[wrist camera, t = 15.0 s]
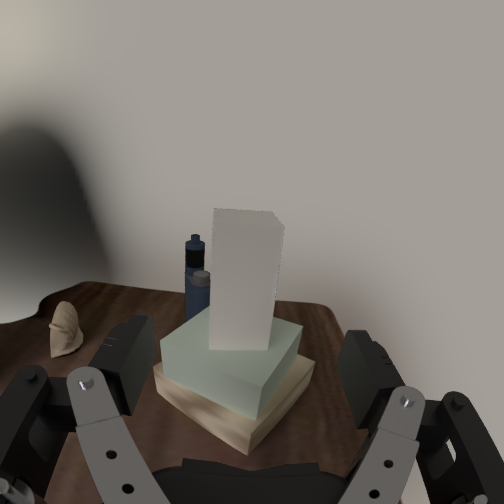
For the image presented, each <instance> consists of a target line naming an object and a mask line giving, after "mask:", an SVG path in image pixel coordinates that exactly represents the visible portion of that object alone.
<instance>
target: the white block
mask: <svg viewBox="0 0 504 504" xmlns="http://www.w3.org/2000/svg"><path fill="white" fill-rule="evenodd" d="M283 234H284V226H283V224H282V223H281V222H280V221H279V219H278V218H277V217H276V216H275V215H274V214H273V212H268V211H253V210H236V209H217V208H214V215H213V232H212V254H211V281H210V323H209V350H268V345H269V338H270V332H271V325H272V318H273V311H274V304H275V297H276V289H277V282H278V274H279V267H280V259H281V251H282V243H283Z"/></svg>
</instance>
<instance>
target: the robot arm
mask: <svg viewBox="0 0 504 504" xmlns="http://www.w3.org/2000/svg"><path fill="white" fill-rule="evenodd" d="M155 352H156V343H155V334H154V325H153V317H152V316H151V315H146V314H139V313H133V314H132V316H131V318H130V319H129V321H128V322H127V324H126V323H120V324H119V325H117V326H116V327H114V328H113V329H112V330H111V331H110V333H109V334H108V336H107V338H106V339H105V340H104V342H103V345H101V346H100V348H99V349H98V351H97V352H96V354H95V355H94V357H93V358H92V360H91V362H90V363H89V365H88V366H87V367H80V368H77V369H75V370H74V371H72V372H71V373H70V374H69V376H68V377H67V378H62V377H48V375H47V372H46V370H45V369H44V368H43V367H41V366H39V365H28V366H25V367H23V368H21V369H20V370H19V371H18V372H17V373H16V375H15V376H14V378H13V379H12V380H11V382H10V383H9V385H8V386H7V388H6V389H5V391H4V392H3V394H2V395H1V397H0V504H47V503H46V502H45V500H44V497H45V494H46V491H47V488H48V485H49V482H50V479H51V476H52V474H53V471H54V468H55V466H56V463H57V460H58V458H59V455H60V453H61V450H62V448H63V445H64V443H65V440H66V438H67V435H68V433H69V432H77V435H78V438H79V441H80V444H81V447H82V450H83V453H84V456H85V459H86V461H87V464H88V467H89V469H90V472H91V474H92V477H93V479H94V482H95V484H96V486H97V489H98V491H99V493H100V495H101V498H102V500H103V502H104V503H102V504H398V502H399V500H400V497H401V495H402V492H403V490H404V487H405V485H406V482H407V480H408V477H409V474H410V472H411V469H412V466H413V463H414V460H415V457H416V460H417V463H418V466H419V469H420V472H421V475H422V478H423V481H424V484H425V487H426V490H427V494H428V497H429V500H430V504H504V462H503V460H502V458H501V456H500V454H499V452H498V450H497V448H496V446H495V444H494V442H493V440H492V438H491V437H490V435H489V433H488V431H487V429H486V427H485V426H484V424H483V422H482V420H481V419H480V417H479V415H478V413H477V412H476V410H475V408H474V407H473V405H472V403H471V402H470V400H469V399H468V398H467V397H466V396H465V395H464V394H462V393H459V392H454V391H452V392H448V393H447V394H445V396H444V397H443V399H442V400H441V401H434V400H425V398H424V396H423V395H422V393H421V392H420V391H418V390H417V389H415V388H412V387H409V386H406V385H405V384H404V382H403V380H402V378H401V376H400V375H399V373H398V371H397V370H396V368H395V366H394V365H393V362H392V361H391V359H390V358H389V356H388V354H387V352H386V350H385V349H384V348H383V347H382V346H381V345H380V344H378V343H377V342H376V341H372V340H371V338H370V336H369V334H368V333H367V331H366V330H348V331H347V333H346V335H345V339H344V342H343V345H342V348H341V351H340V354H339V357H338V362H337V369H338V374H339V376H340V379H341V382H342V385H343V388H344V391H345V394H346V397H347V400H348V403H349V406H350V409H351V412H352V415H353V418H354V421H355V424H356V427H357V429H365V428H368V431H369V433H368V435H367V436H366V438H365V440H364V442H363V444H362V446H361V448H360V450H359V451H358V453H357V455H356V457H355V459H354V460H353V462H352V464H351V466H350V467H349V469H348V471H347V472H346V474H345V475H344V476H343V478H342V477H340V476H337V475H335V474H332V473H328V472H323V471H319V466H318V463H306V464H285V465H281V466H277V467H272V468H267V469H262V470H257V471H248V470H244V469H240V468H236V467H232V466H229V465H225V464H222V463H218V462H212V461H203V460H195V459H187V458H183V461H182V466H175V467H168V468H164V469H160V470H158V471H155V472H153V473H151V472H150V470H149V469H148V467H147V465H146V463H145V462H144V460H143V458H142V456H141V454H140V453H139V451H138V449H137V447H136V445H135V443H134V441H133V439H132V437H131V435H130V433H129V431H128V429H127V427H126V425H125V423H124V421H123V419H122V417H121V416H122V414H124V415H128V416H132V414H133V412H134V409H135V406H136V404H137V401H138V398H139V396H140V393H141V391H142V388H143V386H144V383H145V381H146V378H147V375H148V373H149V371H150V368H151V366H152V363H153V361H154V358H155ZM449 439H450V441H451V443H452V445H453V448H454V450H455V452H456V460H455V462H454V460H453V458H452V455H451V453H450V451H449V448H448V446H447V444H446V442H447V441H448V440H449Z"/></svg>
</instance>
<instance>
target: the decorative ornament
mask: <svg viewBox="0 0 504 504" xmlns="http://www.w3.org/2000/svg"><path fill="white" fill-rule="evenodd" d="M49 327H50V328H51V331H50V347H51V358H54V357H57V356H61V355H65V354H69V353H71V352H74V351H75V350H76V349H78V348H79V347H80V345H81V344H82V343H83V333H82V332H81V331H80V327H78V316H77V312H76V310H75V308H74V307H73V305H72V304H71V303H69V302H65V301H62V302H60V303H59V304H58V306H57V308H56V310H55V313H54V316H53V320H52V323H50V324H49Z"/></svg>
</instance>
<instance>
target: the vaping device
mask: <svg viewBox="0 0 504 504" xmlns="http://www.w3.org/2000/svg"><path fill="white" fill-rule="evenodd" d="M185 247H186V248H185V250H186V251H185V252H186V255H185V258H186V259H185V261H186V265H185V312H186V322H187V321H189V320H190V319H192V318H193V317H194V316H196V315H197V314H199V313H200V312H201V311H203V310H204V309H206V308H207V307H208V306H210V281H211V280H210V273H209V272H207V271H204V254H205V243H204V242H203V241H200V235H198V234H193V235H191V240H190V241H187V242H186V246H185Z"/></svg>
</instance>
